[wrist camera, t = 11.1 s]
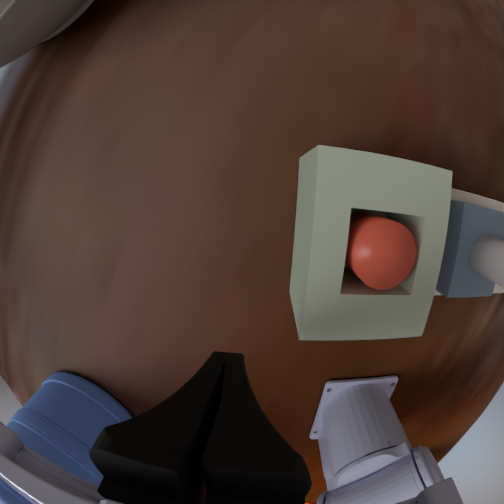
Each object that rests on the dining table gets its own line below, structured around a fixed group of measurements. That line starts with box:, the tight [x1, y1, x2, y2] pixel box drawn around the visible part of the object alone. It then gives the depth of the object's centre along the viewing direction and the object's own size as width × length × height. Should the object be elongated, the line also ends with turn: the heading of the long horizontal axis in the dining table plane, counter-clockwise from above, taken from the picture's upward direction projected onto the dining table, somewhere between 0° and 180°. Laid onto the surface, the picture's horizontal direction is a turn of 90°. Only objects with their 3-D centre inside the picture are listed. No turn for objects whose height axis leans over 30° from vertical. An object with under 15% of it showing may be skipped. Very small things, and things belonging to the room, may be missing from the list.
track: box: [289, 145, 504, 340], centre depth 16 cm, size 10×30×7 cm, turn 87°
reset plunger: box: [345, 212, 416, 290], centre depth 14 cm, size 4×4×4 cm
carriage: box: [435, 200, 504, 298], centre depth 14 cm, size 7×6×6 cm
